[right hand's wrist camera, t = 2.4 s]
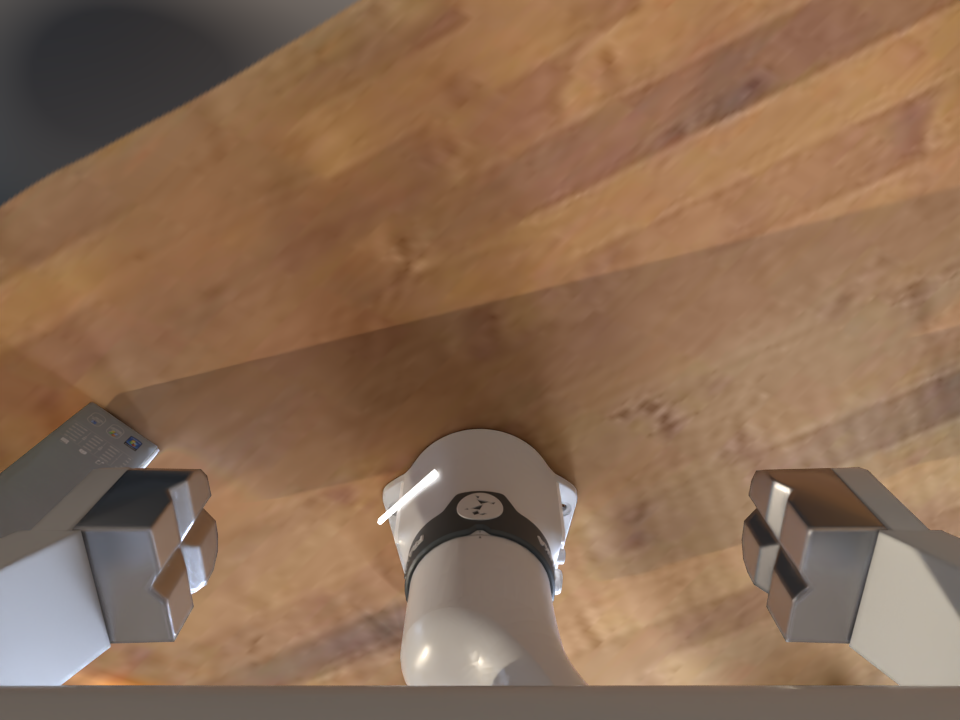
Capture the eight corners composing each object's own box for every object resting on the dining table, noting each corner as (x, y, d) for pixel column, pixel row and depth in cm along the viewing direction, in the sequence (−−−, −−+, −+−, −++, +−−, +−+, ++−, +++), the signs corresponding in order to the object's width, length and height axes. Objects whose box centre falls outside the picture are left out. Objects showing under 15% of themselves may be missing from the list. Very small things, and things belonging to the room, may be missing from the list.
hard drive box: (91, 397, 62) (-74, 527, 44) (163, 446, 64) (34, 591, 45) (10, 504, 66) (-172, 664, 48) (80, 547, 68) (-69, 717, 50)
